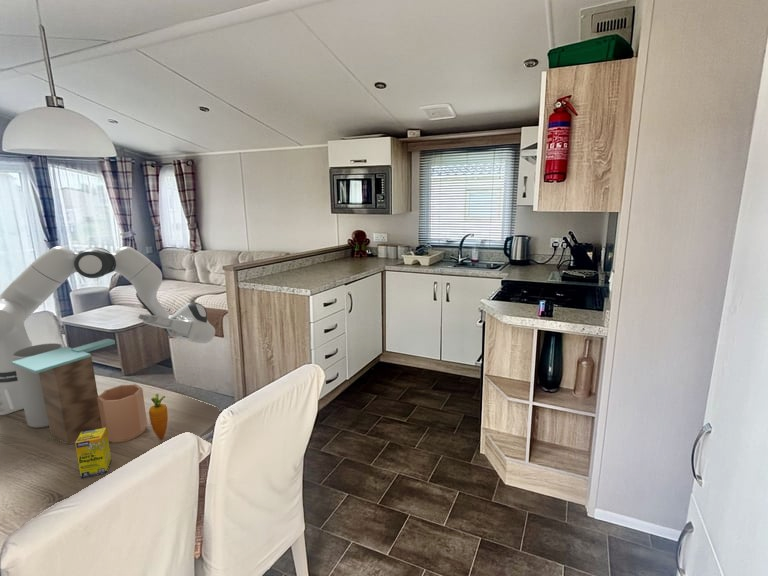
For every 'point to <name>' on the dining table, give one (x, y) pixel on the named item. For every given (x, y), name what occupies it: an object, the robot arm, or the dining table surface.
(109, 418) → the peach faceted hollow pot
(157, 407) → the carrot
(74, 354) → the teal flat board
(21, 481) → the dining table surface
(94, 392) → the pedestal
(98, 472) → the supplement box
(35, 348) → the cylinder vase
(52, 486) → the dining table surface
